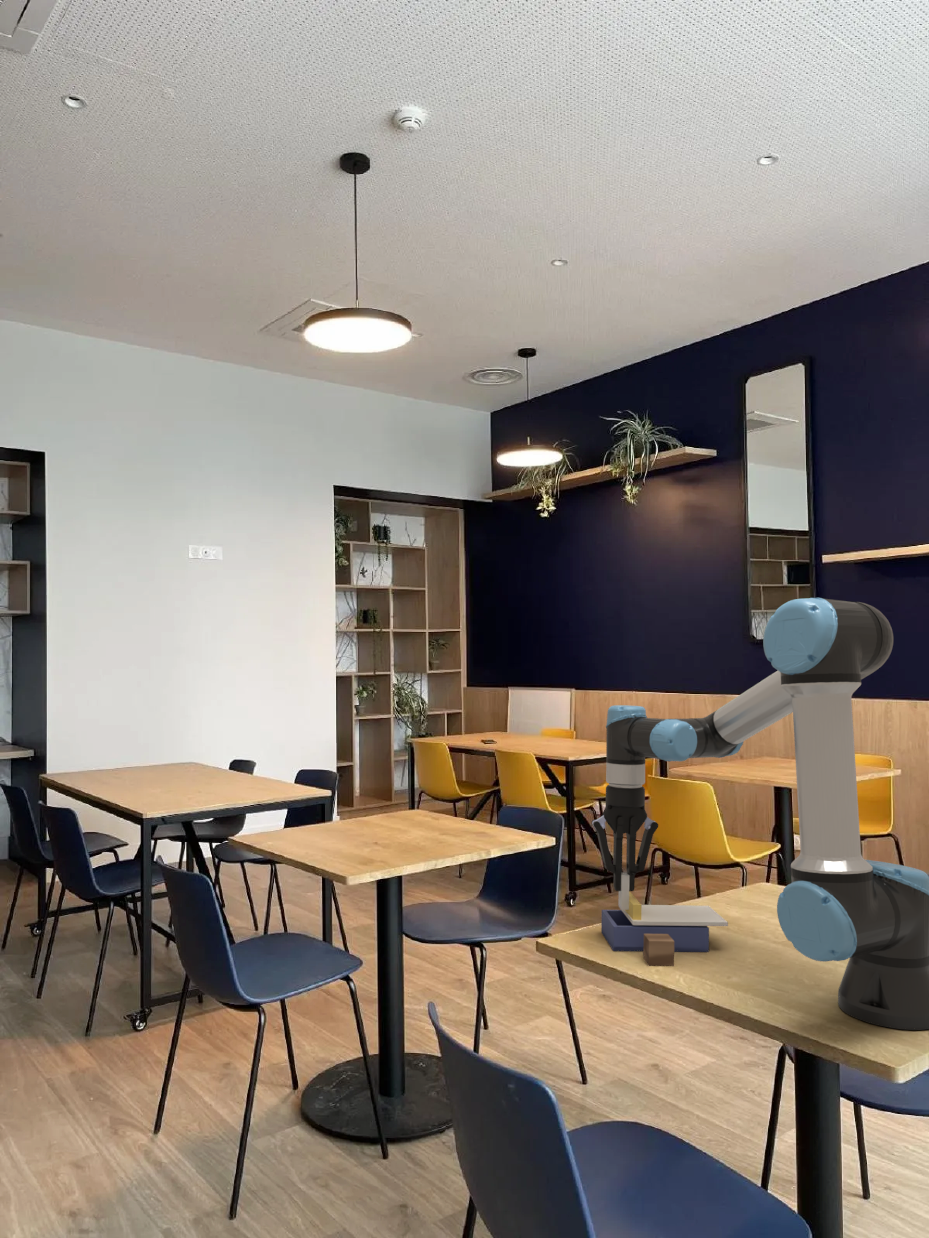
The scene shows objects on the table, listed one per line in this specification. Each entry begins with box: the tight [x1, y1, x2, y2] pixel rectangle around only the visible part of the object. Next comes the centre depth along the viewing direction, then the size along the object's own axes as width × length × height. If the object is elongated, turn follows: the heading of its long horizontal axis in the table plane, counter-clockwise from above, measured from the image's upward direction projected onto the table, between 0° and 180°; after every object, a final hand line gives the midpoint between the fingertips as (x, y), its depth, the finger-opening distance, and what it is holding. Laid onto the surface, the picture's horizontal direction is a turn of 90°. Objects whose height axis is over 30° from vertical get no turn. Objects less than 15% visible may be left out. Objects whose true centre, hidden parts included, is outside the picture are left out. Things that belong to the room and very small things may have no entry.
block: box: [642, 934, 675, 967], centre depth 169 cm, size 4×4×4 cm
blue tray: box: [600, 909, 710, 953], centre depth 181 cm, size 12×18×4 cm, turn 92°
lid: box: [622, 891, 729, 927], centre depth 182 cm, size 12×18×4 cm, turn 92°
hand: (623, 907), depth 181 cm, fingers closed
